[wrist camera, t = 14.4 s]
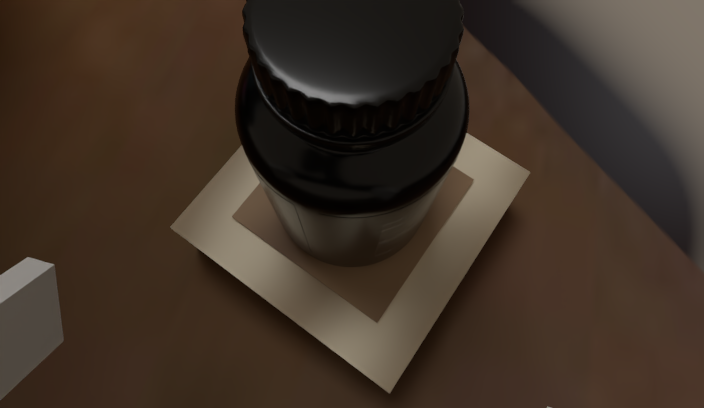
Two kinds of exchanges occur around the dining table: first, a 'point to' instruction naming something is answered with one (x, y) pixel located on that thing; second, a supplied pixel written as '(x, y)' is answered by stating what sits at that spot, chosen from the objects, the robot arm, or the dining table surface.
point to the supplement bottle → (352, 118)
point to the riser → (356, 282)
